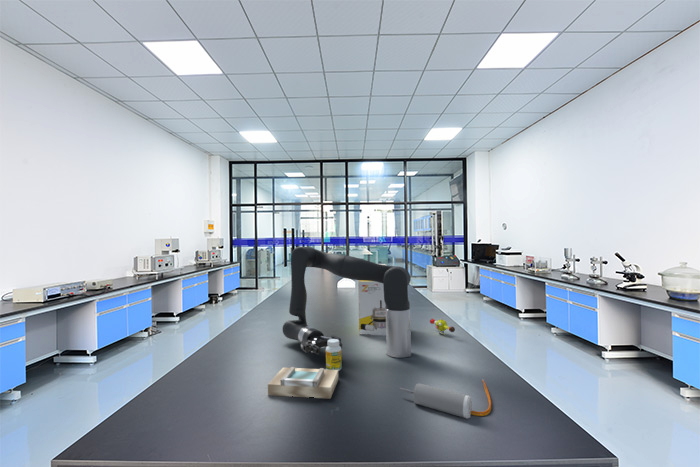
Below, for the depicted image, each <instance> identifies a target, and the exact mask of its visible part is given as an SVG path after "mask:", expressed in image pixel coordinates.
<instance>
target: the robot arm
mask: <svg viewBox="0 0 700 467" xmlns="http://www.w3.org/2000/svg"><path fill="white" fill-rule="evenodd" d="M290 268H291V269H290V272H291V273H290V274H291V276H290V278H291V290H290V300H289V301H290V302H289V308H288V312H289V315H291V316H294V317H297V318H298V319H296V320H294V319H293V320H287V321H285V322H284V323H283V325H282V334H283V336H284V337H286V338H287V339H289V340H295V341H298V342H299V343H300V349H301V350H302V351H303V352H305V353H306V354H308V353H309V352H311V353H314V354H316V355H321V349H322V348H323V349H324V348H326V347H327V346H328V344H327V343H328V340H330V339H338V340H339V346H340V347H341V350H343V343H342V338H340V337H338V336H336V335H333V334H331V335H330V337H327V336H325V335H324V333H323V332H322V331H321V330H319V329H316V328H314V327H313V326H310V325H308V322H307V316H306V314H307V313H306V307H307V302H308V301H307V297H308V293H307V289H306V283H305V282H306V281H305V276H306V275H305V274H306V270H307V268H316V269H322V270H326V271H328V272H329V273H332V274H334V275H336V276H338V277H341V278H345V279H348V280H354V281H359V280H362V281H375V282H380V283H383V287H384V301H385V305H386V335H385V344H386V348H385V351H386V354H387V355H388V356H389V357H393V358H399V359H401V358H402V359H403V358H407V357H410V358H411V357H412V340H411V338H412V337H411V336H412V335H411V333H412V332H411V311H410V310H411V304H410V303H411V302H410V300H409V293H408V292H409V291H408V290H409V288H408V286H410V283H411V280H412V278H411V274H410V272H409V271H408V270H407V269H406V268H405V267H403V266H395V265H386V264H379V263H376V262H373V261H369V260H367V259H363V258H359V257H355V256H351V255H346V254H339V253H332V252H330V253H329V252H326V251H323V250H322V251H321V250H318V249H316V248H315V247H311V246H296V247H294V249H293V250H292V251H291V254H290Z"/></svg>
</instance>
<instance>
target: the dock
mask: <svg viewBox="0 0 700 467" xmlns="http://www.w3.org/2000/svg"><path fill="white" fill-rule="evenodd" d="M338 382H339V371H338V370H329V369H326V368H323V367H320V368H306V367H305V368H303V367H302V368H301V367H295V366H291V367H282V368H281V369H280V370H279V371H278V372H277V373H276V374H275V376H274V377H273V378H272V379H271V380H270V381H269V382H268V383H267V395H268V396H278V397H292V396H293V397H296V398H309V397H314V398H313V399H329V400H330V399H331V398H332V396H333V394H334V393H335V392H334V391H335V390H336V386H337V384H338Z"/></svg>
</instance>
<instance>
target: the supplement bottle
mask: <svg viewBox="0 0 700 467" xmlns="http://www.w3.org/2000/svg"><path fill="white" fill-rule="evenodd" d="M327 344H328V346H327V347H325V369H329V370H338V372H339V371H341V370H342V369H343V368H342V365H343V364H342V362H343V360H342V349H341V347H340V346H339V340H338V339H330V340H328V343H327Z"/></svg>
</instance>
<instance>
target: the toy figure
mask: <svg viewBox="0 0 700 467" xmlns="http://www.w3.org/2000/svg"><path fill="white" fill-rule="evenodd" d="M429 323H430V324H432V325H433V324H435V329H437V330H438V331H439V333H438V334H439V335H442V336H443V335H445V331H446V330H448V331H449V332H451V333H454V332H455V331H456V328H455V327H454V326H448V323H447V321H446V320H444V319H438V320H435V319H434V318H430V320H429ZM440 333H442V334H440Z"/></svg>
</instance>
